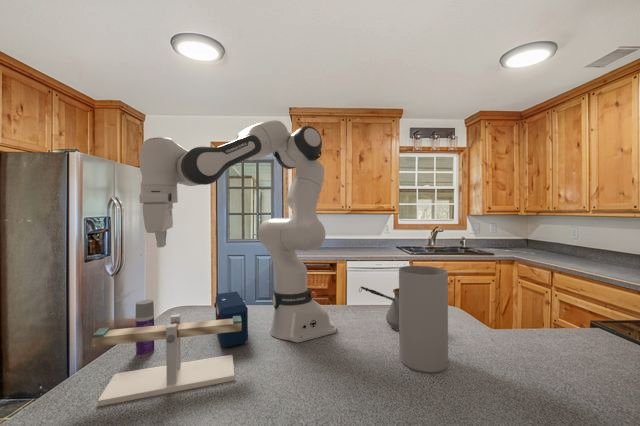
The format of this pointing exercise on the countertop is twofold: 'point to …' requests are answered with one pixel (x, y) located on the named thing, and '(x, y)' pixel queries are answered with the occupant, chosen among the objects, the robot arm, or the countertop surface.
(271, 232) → the robot arm
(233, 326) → the beam
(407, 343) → the cylinder vase
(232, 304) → the radio
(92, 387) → the countertop surface
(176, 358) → the stand
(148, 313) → the container
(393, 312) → the coffee pot
